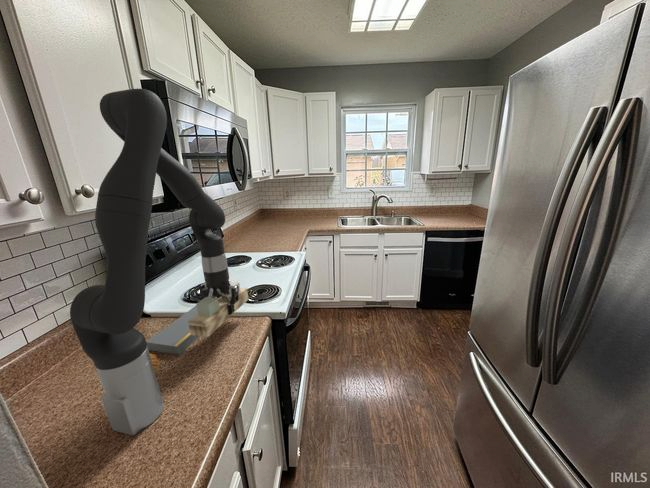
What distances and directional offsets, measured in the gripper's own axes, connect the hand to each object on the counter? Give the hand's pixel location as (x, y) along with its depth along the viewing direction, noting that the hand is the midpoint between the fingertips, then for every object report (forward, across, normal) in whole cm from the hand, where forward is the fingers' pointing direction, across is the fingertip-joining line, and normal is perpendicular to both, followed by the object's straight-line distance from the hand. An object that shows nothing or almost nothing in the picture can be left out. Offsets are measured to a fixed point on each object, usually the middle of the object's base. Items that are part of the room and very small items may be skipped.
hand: (222, 312), depth 90 cm
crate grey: (-4, 0, +6) cm, 7 cm away
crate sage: (-4, 0, -6) cm, 7 cm away
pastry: (+9, -13, -20) cm, 25 cm away
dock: (+8, -14, -1) cm, 16 cm away
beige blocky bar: (+1, 0, 0) cm, 1 cm away
